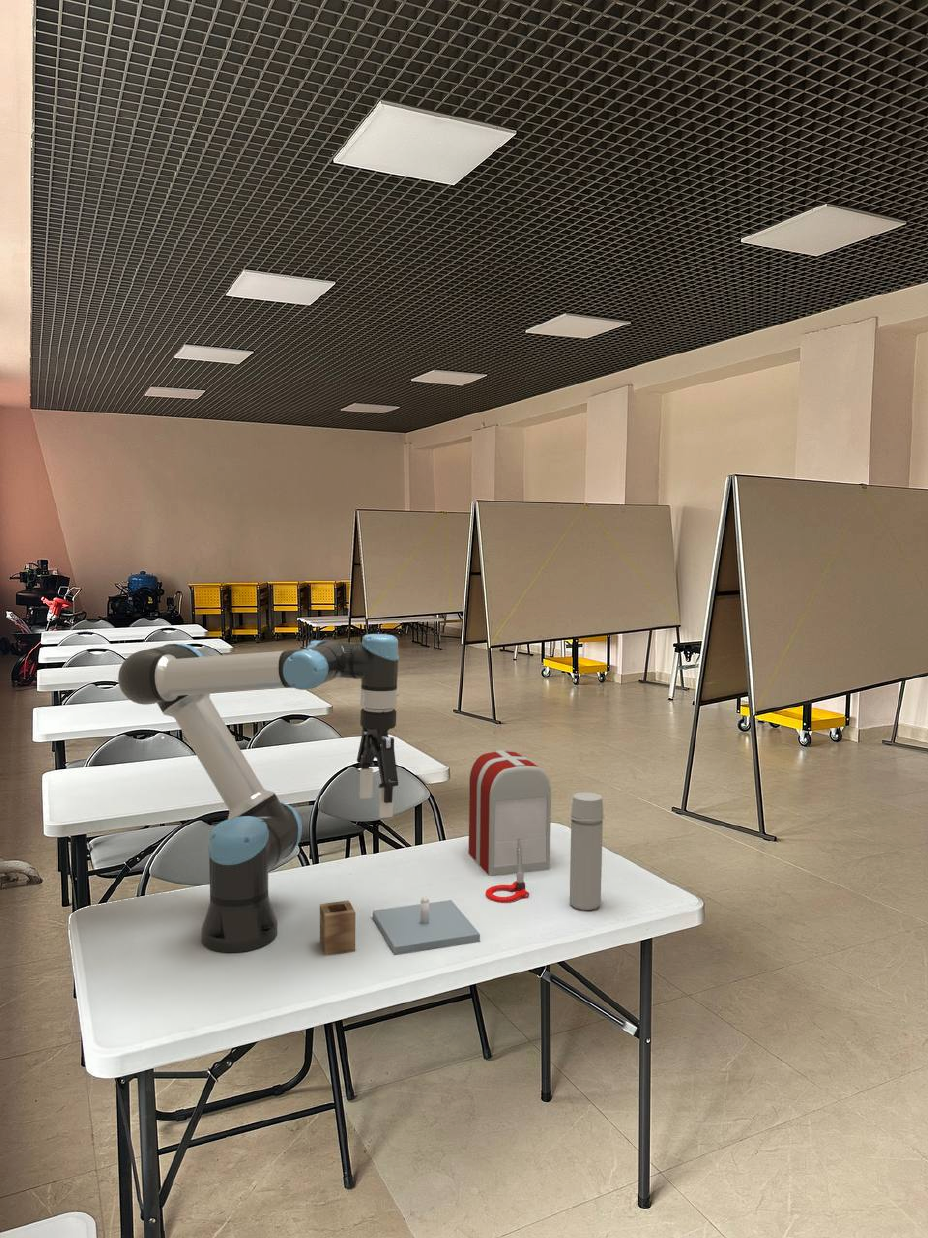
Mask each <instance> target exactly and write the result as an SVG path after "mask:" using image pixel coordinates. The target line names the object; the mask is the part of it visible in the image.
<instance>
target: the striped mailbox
mask: <svg viewBox="0 0 928 1238" xmlns="http://www.w3.org/2000/svg"><path fill="white" fill-rule="evenodd" d="M551 811H552V787H551V782H550V779H549V777H548V774H547V773H546V771H545V770H544V769H542V768H541V767H540V766H538V765H536V764H535V763H534V762H533V761H532V760H531V759H529V758H527V757H525V756H522V755H521V754H520V753H518V752H516V751H511V750H503V749H501V750H499V749H498V750H497V749H496V750H494V751H491V752H485V753H482V754H480V755H478V757H477V758H476V759H475V760H474V762H473V763H472V766H471V768H470V771H469V779H468V850H467V852H468V854H469V855H470V857H471V858H472V859H473V860H474V861H475V863H476V864H477V865H478V866H479V867H481V869H482V870H483V871H484V872H485V874H487V876H489V877H499V876H506V875H508V876H509V875H517V873H516V872H517V848H518V845H517V840H518V839H521V848H522V871H523V872H524V873H525V874H526V873H533V872H534V873H535V872H543V871H550V868H551V823H552V821H551V819H552V818H551V816H552V814H551V813H552V812H551Z"/></svg>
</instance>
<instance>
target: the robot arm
mask: <svg viewBox="0 0 928 1238" xmlns="http://www.w3.org/2000/svg"><path fill="white" fill-rule="evenodd" d="M399 660H400V657H399V641H398V638H397V637H396V636H394V635H392V634H385V633H370V634H365V635H363V636H362V641H361V642H348V641H347V642H346V641H334V640H333V641H332V640H329V639H325V640H312V641H310V642H309V643H308V646H306V648H300V649H299V648H298V649H289V650H278V651H265V652H262V651H261V652H251V653H237V654H223V655H222V654H221V655H212V656H211V655H210V656H209V655H208V656H204V655H203V653H201V651H199V650H198V649H197V648H195V647H194V646H192V645H189V644H185V643H168V644H164V645H162V646H157V647H153V648H147V649H142V650H138V651H136V652H134V653H132V654H131V655H129V656H128V657H127V658H125V660H124V661H122V664H121V666H120V668H119V670H118V677H117V678H118V679H117V681H118V686H119V688H120V690H121V693H122V694H123V695H124V696H125V697H126V698H127V699H129V700H130V701H131V702H133V703H135V704H138V705H143V706H144V705H145V706H146V705H147V706H148V705H153V704H157V706H158V707H159V709H160V711H161V712H162V715H163V716H168V717H171V718H174V719H175V721H176V723H177V725H178V728H179V729H180V730H181V732H182V733H183V735H184V737H185V738H186V740H187V742H188V744H189V745H190V747H191V749H192V750H193V752H194V754H195V755H196V757H197V759H198V760H199V762H200V764H201V766H202V767H203V769H204V770H205V772H206V774H207V775H208V777H209V778H210V780H211V782H212V784H213V785H214V787H215V789H216V790H217V793H218V794H219V795H220V798H222V799H221V800H222V801H223V802H224V804H225V805H226V808H227V809H228V813H229V814H228V817H227V819H225V820H223V821H221V822H219V823H218V824H217V825H215V826H214V827H213V829H212V830H211V832H210V834H209V841H208V842H209V843H208V846H207V847H208V849H207V853H208V864H209V865H208V867H209V871H208V873H209V904H208V908H207V911H206V913H205V917H204V921H203V924H202V927H201V942H202V945H204V947H206V948H207V949H210V950H211V951H215V952H220V953H243V952H248V951H253V950H257V949H259V948H262V947H264V946H266V945H268V944H270V943H272V942H273V941H274V940H275V939H276V937H277V936H278V920H277V917H276V914H275V911H274V908H273V905H272V903H271V900H270V897H269V872H270V871H271V869H272V870H273V868H274V867H275V866H277V865H278V864H279V863H280V862H281V861H283V860H285V859H286V858H288V857H289V856H290V855H291V854H292V853H293V852H294V850H295V849H296V848H297V847H298V845H299V843H300V841H301V838H302V834H303V824H302V821H301V817H300V815H299V814H298V812H297V811H296V809H295V807H293V806H291V805H289V804H286V803H284V802H280V800H279V798H278V796H277V795H276V793H275V792H274V791H270V790H267V789H265V788H264V787H263V784H262V783H261V781H260V780H259V778H258V777H257V775H256V773H255V772H254V770H253V769H252V766H251V765H250V764H249V762H248V760H247V758H246V757H245V755H244V753H243V752H242V750H241V749H240V747H239V745H238V743H237V742H236V739H235V738H234V736H233V734H232V733H231V732H230V730H229V727H227V725H226V723H225V721H224V720H223V718H222V717H221V715H220V713H219V711H218V710H217V708H216V706H215V704H214V703H213V702H212V699H211V697H210V694H221V693H235V692H248V691H249V692H250V691H262V690H263V691H265V690H277V689H295V690H299V691H300V690H301V691H305V690H313V689H315V688H317V687H319V686H320V685H323V684H325V683H328V682H330V681H332V680H335V679H337V678H340V679H354V680H361V684H360V704H359V705H360V707H362V708H361V710H360V720H359V724H360V725H359V726H360V727H361V728H362V731H361V736H360V737H361V738H360V743H359V747H358V753H357V757H356V762H357V763H358V765H359V768H360V769H359V794H358V795H359V799H360V800H361V799H372V798H373V790H374V789H373V786H374V783H373V780H374V768H373V767H375V762H374V761H375V759H376V763H377V765H378V772H379V777H380V782H381V783H379V784H378V789H379V803H378V804H379V806H378V808H379V809H378V811H379V812H378V817H379V819H385V818H393V817H394V792H395V791H394V788H395V787H397V786H399V778H398V777H399V776H398V770H397V769H398V768H397V761H396V751H395V738H394V737H390V736H389V733H388V732H389V730H392V729H394V728H395V727H396V726H397V710H396V709H395V708H396V707H397V703H398V702H397V699H398V697H399V696H400V693H399V692H398V672H399Z"/></svg>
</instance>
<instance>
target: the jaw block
mask: <svg viewBox="0 0 928 1238" xmlns="http://www.w3.org/2000/svg"><path fill="white" fill-rule="evenodd" d="M319 944H320V946H321V949H322V951H323V953H324V955H325V956H331V955H332V956H333V955H336V954H337V955H338V954H346V953H350V952H356V911H355V909H354V906H353V905H352V904H351V901H350V900H341V901H334V902H326V903H320V904H319Z"/></svg>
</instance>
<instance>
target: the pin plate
mask: <svg viewBox="0 0 928 1238" xmlns="http://www.w3.org/2000/svg"><path fill="white" fill-rule="evenodd" d="M372 919H373V921H374V922H375V924H376V925H377V927H378V929H379V930H380V933H382V935H383V937H384V939H385V941H386V942H387V944H388V945H389V947H390V949H391V951H392V952H393V954H394V955H400V954H406V953H413V952H420V951H426V950H433V949H439V948H446V947H451V946H458V945H463V944H471V943H478V942H481V933H479V931H478V930H477V929H476V928H475V926H474V925H473V924H472V922H471V921H470V920H469V919H468V918H467V917H466V916H465V915H464V913H463V912H462V911H461V910H460V909H459V907H458V906H457V905H456V903H454V901H453V900H452V899H449V900H442V901H441V900H440V901H434V902H430V899H429V898H428V896H423V897H421V899H420V904H418V903H417V904H412V905H405V906H398V907H391V908H383V909H378V910H377V909H376V910H372Z"/></svg>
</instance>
